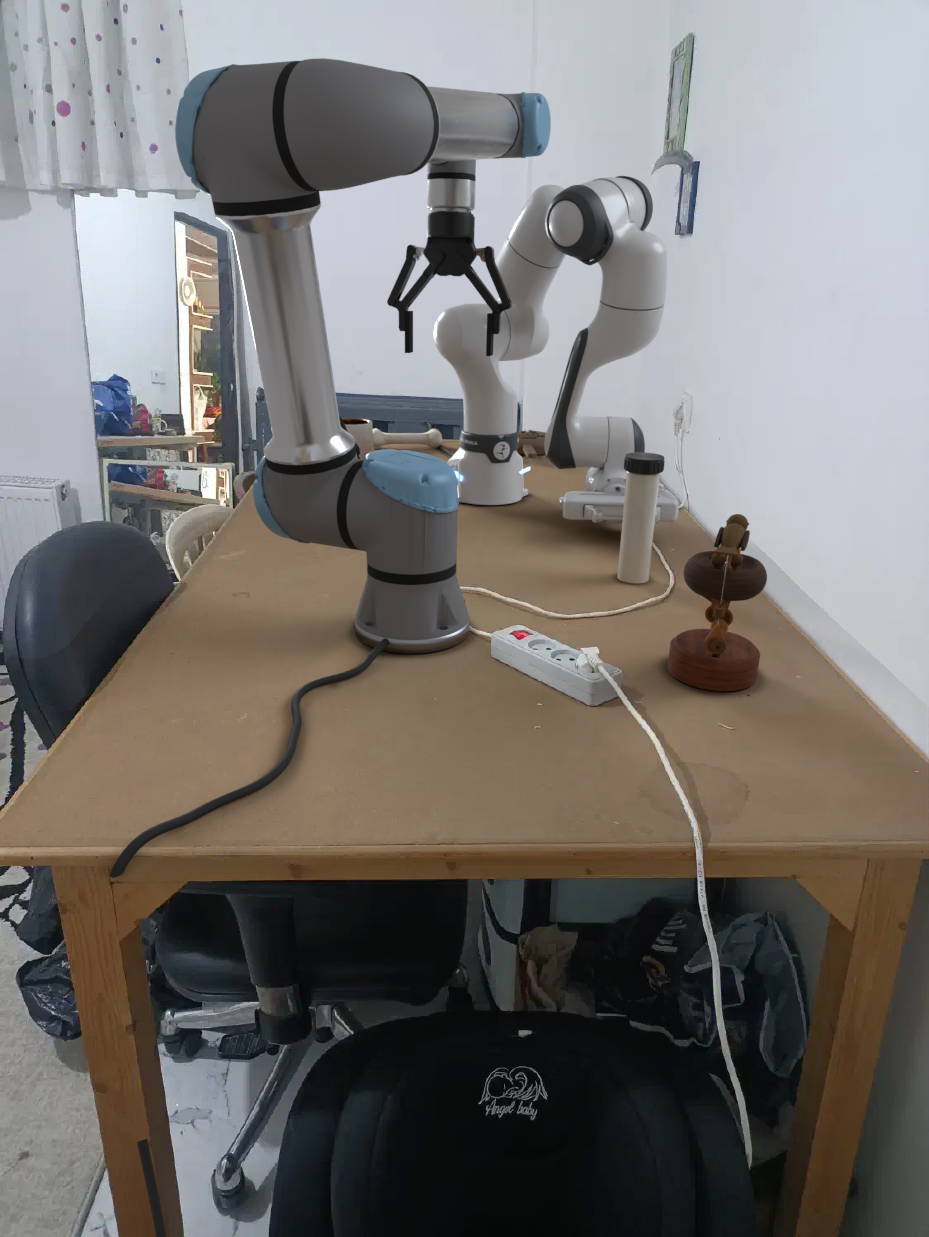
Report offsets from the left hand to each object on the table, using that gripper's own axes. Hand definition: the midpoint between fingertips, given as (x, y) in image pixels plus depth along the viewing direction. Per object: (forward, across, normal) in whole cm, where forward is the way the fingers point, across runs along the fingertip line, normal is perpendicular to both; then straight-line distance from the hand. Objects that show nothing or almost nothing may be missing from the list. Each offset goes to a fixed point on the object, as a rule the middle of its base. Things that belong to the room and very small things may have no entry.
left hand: (448, 354), depth 140 cm
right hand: (+26, -31, +1) cm, 40 cm away
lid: (+13, -33, +14) cm, 38 cm away
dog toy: (+31, +28, -82) cm, 92 cm away
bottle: (+32, -33, +13) cm, 48 cm away
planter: (+31, +37, -62) cm, 79 cm away
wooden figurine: (+32, -42, +46) cm, 70 cm away
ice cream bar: (+31, -5, -82) cm, 88 cm away
